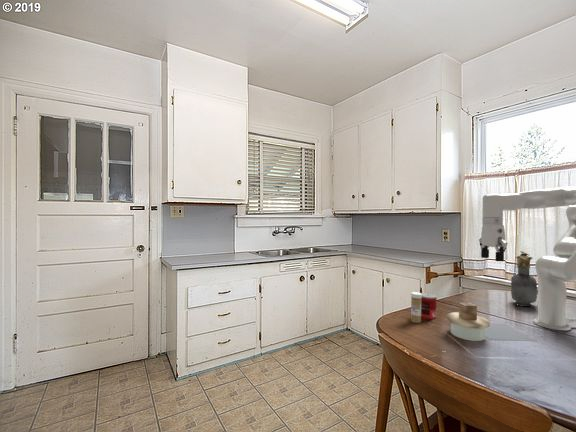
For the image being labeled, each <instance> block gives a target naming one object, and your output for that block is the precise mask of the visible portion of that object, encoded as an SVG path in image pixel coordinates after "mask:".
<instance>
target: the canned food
mask: <svg viewBox="0 0 576 432" xmlns="http://www.w3.org/2000/svg"><path fill="white" fill-rule="evenodd" d="M420 293H421V294H422V298H421V319H423V320H427V321H432V320H435V319H436V318H437V307H438V306H437V300H438V299H437V295H436V294H434V293H431V292H420Z"/></svg>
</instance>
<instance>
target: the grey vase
mask: <svg viewBox="0 0 576 432" xmlns="http://www.w3.org/2000/svg"><path fill="white" fill-rule="evenodd" d="M515 258H516V267H517V274H514V275H512V276H511V279H510V295H511V299H512V300H513V301H515V302H514V304H515V303H516V304H518V305H523V306H531V307H532V305H533V303H536V302H537V301H538V282H537V279H536V278H535V277H533V276H531V275H530V268H531V260H533V257H532V256H530V254H529V253H527V252H525V251H522V250H520V255H517V256H515ZM516 304H515V305H516ZM518 305H517V306H518Z"/></svg>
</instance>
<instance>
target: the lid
mask: <svg viewBox="0 0 576 432" xmlns="http://www.w3.org/2000/svg"><path fill="white" fill-rule="evenodd" d="M446 319H447V320H448V321H449V322H450V323H451V322H452V323H454V324H457V325H460V326H463V327H468V328H476V329H483V328H488V327H489V326H490V323H491V322H490V320H489V319H487V318H486V317H483V316H481V315H478V305H476V304H474V303H472V302H458V311H454V312H449V313H447V314H446Z"/></svg>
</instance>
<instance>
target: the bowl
mask: <svg viewBox="0 0 576 432" xmlns="http://www.w3.org/2000/svg"><path fill="white" fill-rule="evenodd" d="M450 333H451V334H452V335H453V336H454V337H457V338H459V339H462V340H467V341H470V342H471V341H473V342H481V341H484V340H486V337H485V328H483V329H476V328H468V327H463V326H460V325H457V324H454V323H452V322H450Z"/></svg>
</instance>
